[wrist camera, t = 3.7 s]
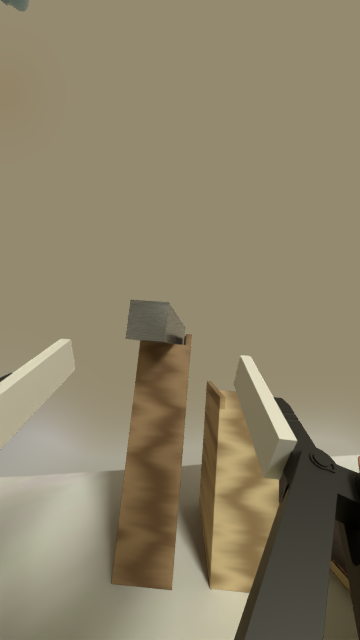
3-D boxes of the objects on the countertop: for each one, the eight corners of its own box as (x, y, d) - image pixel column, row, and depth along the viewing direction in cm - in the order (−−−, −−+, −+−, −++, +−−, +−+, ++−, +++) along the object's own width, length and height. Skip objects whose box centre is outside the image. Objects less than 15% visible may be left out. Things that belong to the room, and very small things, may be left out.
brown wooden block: (111, 583, 21) (141, 330, 26) (136, 495, 34) (154, 335, 39) (171, 590, 21) (191, 334, 26) (174, 498, 34) (187, 338, 39)
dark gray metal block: (125, 338, 19) (130, 299, 19) (165, 344, 40) (167, 326, 41) (164, 342, 18) (168, 302, 19) (183, 346, 40) (185, 327, 40)
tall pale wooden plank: (209, 588, 22) (220, 397, 25) (199, 503, 34) (207, 381, 37) (278, 595, 22) (279, 402, 25) (243, 507, 34) (247, 384, 37)
